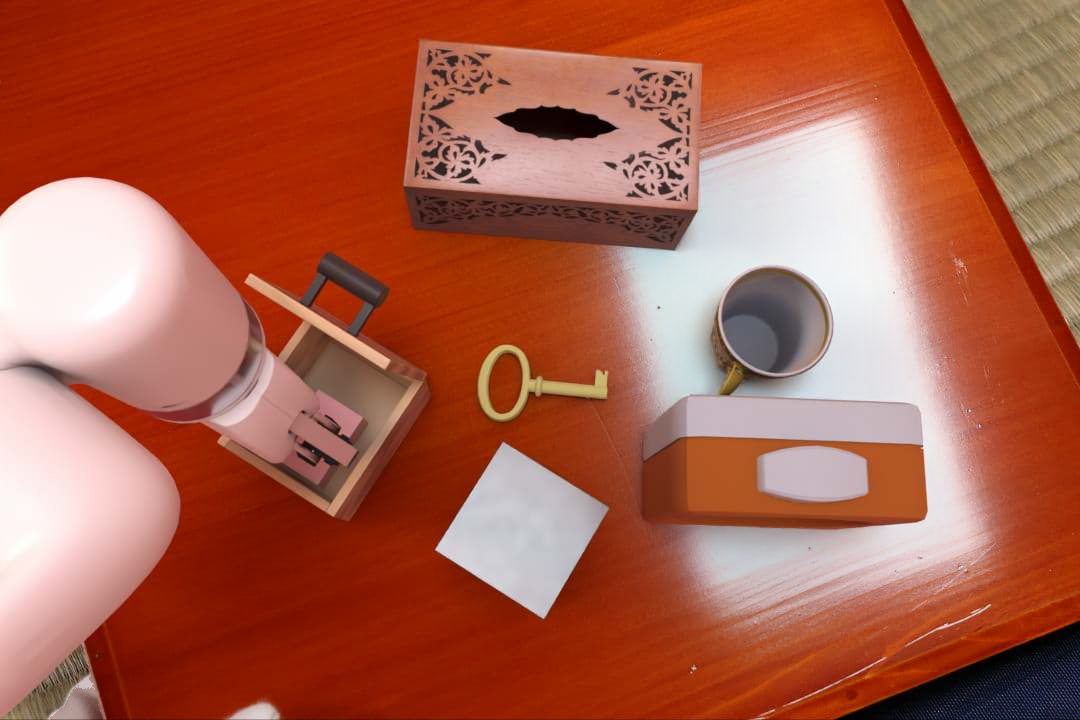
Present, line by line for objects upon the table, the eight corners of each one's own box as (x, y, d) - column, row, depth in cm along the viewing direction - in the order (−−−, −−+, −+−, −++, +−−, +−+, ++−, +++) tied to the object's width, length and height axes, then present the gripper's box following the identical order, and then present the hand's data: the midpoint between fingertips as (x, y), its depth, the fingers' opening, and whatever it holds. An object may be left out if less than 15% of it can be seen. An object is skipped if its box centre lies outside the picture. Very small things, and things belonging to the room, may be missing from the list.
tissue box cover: (413, 229, 85) (403, 185, 75) (428, 96, 88) (419, 38, 78) (675, 250, 85) (697, 210, 76) (679, 118, 89) (701, 63, 79)
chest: (349, 521, 78) (333, 517, 70) (243, 453, 79) (216, 442, 71) (432, 395, 81) (425, 378, 73) (329, 331, 82) (312, 308, 74)
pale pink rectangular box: (324, 488, 78) (317, 485, 75) (280, 460, 78) (271, 456, 75) (368, 423, 79) (363, 417, 76) (325, 395, 80) (318, 389, 77)
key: (612, 400, 82) (615, 396, 80) (484, 427, 80) (483, 423, 78) (595, 328, 83) (597, 322, 81) (469, 353, 82) (468, 348, 80)
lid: (384, 370, 59) (423, 307, 59) (243, 282, 59) (282, 221, 60) (422, 381, 73) (453, 331, 73) (308, 311, 74) (339, 261, 74)
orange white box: (640, 523, 79) (688, 511, 59) (640, 428, 81) (687, 386, 61) (838, 530, 80) (952, 520, 60) (834, 436, 82) (943, 396, 62)
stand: (529, 601, 77) (544, 620, 53) (453, 553, 78) (434, 550, 53) (575, 523, 79) (610, 507, 55) (500, 477, 80) (502, 440, 55)
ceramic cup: (728, 279, 85) (758, 242, 75) (813, 336, 84) (855, 307, 74) (655, 383, 82) (676, 360, 72) (743, 444, 81) (776, 429, 72)
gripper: (-8, 315, 43) (130, 388, 59) (281, 501, 42) (339, 522, 58) (90, 198, 45) (197, 300, 61) (369, 372, 43) (402, 428, 60)
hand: (266, 408), depth 60 cm, fingers open, 9 cm apart
